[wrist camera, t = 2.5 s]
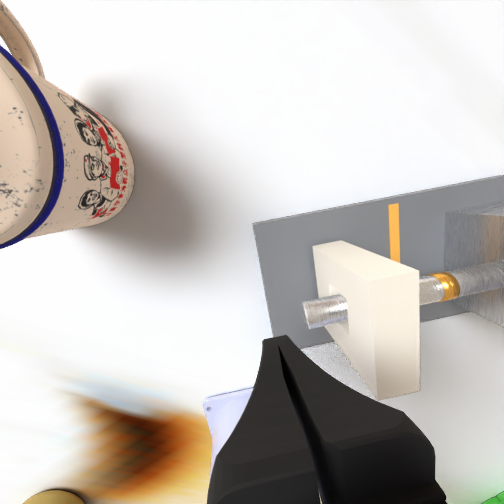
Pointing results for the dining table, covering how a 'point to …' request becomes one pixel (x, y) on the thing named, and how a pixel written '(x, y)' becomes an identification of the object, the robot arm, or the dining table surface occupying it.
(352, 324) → the collar
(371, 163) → the dining table surface
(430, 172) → the dining table surface
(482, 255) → the pipe stand
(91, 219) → the teacup with lid
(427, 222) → the base plate
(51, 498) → the paper tube
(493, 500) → the fruit basket
